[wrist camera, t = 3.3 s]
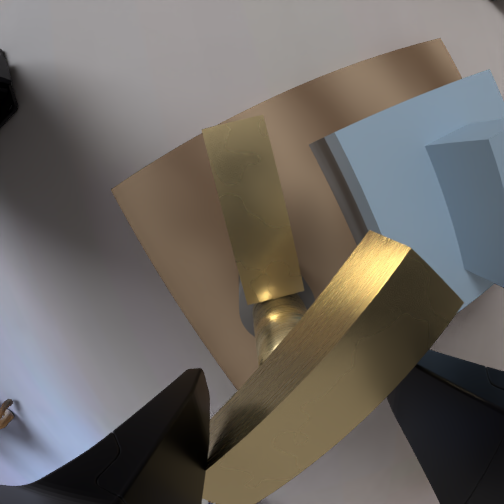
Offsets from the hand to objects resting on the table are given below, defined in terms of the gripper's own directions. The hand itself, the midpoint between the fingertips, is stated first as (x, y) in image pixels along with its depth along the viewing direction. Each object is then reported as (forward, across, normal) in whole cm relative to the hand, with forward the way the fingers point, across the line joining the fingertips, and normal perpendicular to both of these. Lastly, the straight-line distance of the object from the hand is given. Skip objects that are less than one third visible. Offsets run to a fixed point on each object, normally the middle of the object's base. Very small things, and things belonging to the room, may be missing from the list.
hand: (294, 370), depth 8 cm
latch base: (+10, -6, -2) cm, 11 cm away
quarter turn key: (+4, 0, -2) cm, 4 cm away
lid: (+6, -9, -4) cm, 12 cm away
